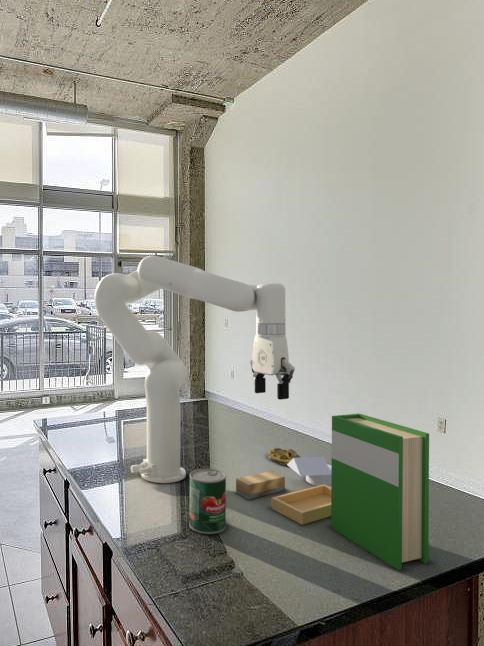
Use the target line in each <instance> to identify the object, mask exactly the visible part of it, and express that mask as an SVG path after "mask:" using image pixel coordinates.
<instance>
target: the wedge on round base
mask: <svg viewBox="0 0 484 646" xmlns="http://www.w3.org/2000/svg"><path fill="white" fill-rule="evenodd" d="M287 465H288V466H287V467H289V468H290V469H291V470H292V471H294V472H295V473H296V474H297V475H299V476H300V477H305V481H306V482H307V483H309V484H310V485H312V486H314V487H315V486H319V485H323V484H325V485H327V486H329V487H331V474H332V464H328V463H327V462H326V459H325V456H304V457H301V456H300V458H293V459H292V460H291V461H290V462H289V463H288V464H287Z"/></svg>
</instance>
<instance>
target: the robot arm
mask: <svg viewBox="0 0 484 646" xmlns="http://www.w3.org/2000/svg"><path fill="white" fill-rule="evenodd" d="M160 289H161V290H164V291H166V292H170V293H174V294H176V295H179V296H182V297H185V298H189V299H191V300H198V301H201V302H204V303H207V304H211V305H214V306H217V307H220V308H223V309H225V310H226V309H227V310H229V311H232V312H238V313H240V312H249V311H255V331H256V332H255V333H256V334H255V336H254V338H253V339H254V340H253V345H252V348H253V349H252V359H251V360H250V361H249V363H250V367H251V372H252V374H253V375H252V378H253V379H254V394H265V393H266V392H267V391H266V390H267V387H266V386H267V385H266V384H267V383H266V381H267V380H266V377H265V376H275V378H276V379H277V381H278V383H276V385H277V386H276V387H277V389H276V394H277V395H276V397H277V400H279V401H280V400H288V399H289V398H290V384H291V382H292V381H291V380H292V379H293V377H294V376H293V375H294V373H295V370H296V367H295V366H294V365H292V363H290V360H289V359H290V358H289V357H290V356H289V345H288V340H287V334H286V333H287V332H286V331H287V329H286V326H287V325H286V322H287V321H286V288H285V285H284V284H282V283H277V282H276V283H275V282H274V283H269V282H268V283H260V284H247V283H244V282H242V281H238V280H234V279H230V278H228V277H224V276H220V275H217V274H214V273H210V272H208V271H205V270H204V269H201V268H199V267H196V266H193V265H190V264H186V263H182V262H179V261H176V260H173V259H170V258H166V257H162V256H159V255H153V254H152V255H147V256H144V257H143V258H142V259H141V260H140V262H139V263H138V266H137V269H136V270H135V271H134V270H133V271H132V272H130V273H128V274H125V273H119V272H115V273H114V272H113V273H109V274H107V275H105V276H103V277H102V278H101V279H100V281H99V282H98V284H97V285H96V288H95V291H94V306H95V310H96V313H97V314H98V317H99V318H100V319H101V321H102V323H103V324H104V325H105V327H106V328H107V329H108V331H109V332H110V334H111V335H112V336H113V338H114V339H115V341H116V343H118V345H119V346H120V348H121V349H122V351H123V352H124V353H125V355H126V356H127V358H128V359H129V360H130V361H131V362H132V363H133V364H135V365H137V366H138V365H139V366H146V367H147V368H148V371H147V372H146V374H145V377H144V393H145V401H146V458H143V459H142V462H141V463H139V464H134V465H130V467H129V468H130V469H129V470H130V473H132V474H134V473H139V475H140V476H141V478H142V479H143V480H145V481H148V482H151V483H155V484H171V483H177V482H180V481H182V480H184V479H185V478H186V477H187V470H186V469H185V468H184V467H182V466H181V452H182V451H181V449H182V448H181V443H182V441H181V439H182V438H181V437H182V436H181V434H182V433H181V431H182V429H181V428H182V426H181V425H182V424H181V423H182V418H181V417H182V410H181V409H182V407H181V399H180V398H181V397H180V390H181V389H182V388H184V386H185V385H186V383H187V380H188V369H187V368H186V365H185V364H184V362H183V361H182V360H181V358H180V357H179V355H177V353H176V351H175V350H174V348H173V347H172V346H171V345H170V344H169V342H168V340H166V339H165V337H164V336H163V335H161V333H159V332H158V331H156V330H151V329H150V330H147V329H146V328H145V327H144V326H143V324H142V323H141V322H140V320H139V318H138V317H137V316H136V315H135V313H134V312H133V311H132V310H131V309H130V308H129V307H128V306H127V304H131V303H134V302H138V301H139V300H141V299H143V298H145V297H147V296H149V295H151V294H153V293H155V292H156V291H159V290H160Z"/></svg>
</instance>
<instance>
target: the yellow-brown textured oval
mask: <svg viewBox="0 0 484 646" xmlns="http://www.w3.org/2000/svg"><path fill="white" fill-rule="evenodd" d="M300 457H301V456H300V454H298V453H297V451H295V450H294V449H292V448H288V449H282V448H279V447H274V448H271V450H269V451H268V453H267V458H268V459H269V460H271V461H272V462H275V463H277V464H278V465H282V466H286V467H289V466H288V465H287V464H288V463H289V462H290V461H291V460H292V459H293V458H300Z"/></svg>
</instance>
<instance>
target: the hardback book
mask: <svg viewBox="0 0 484 646" xmlns="http://www.w3.org/2000/svg"><path fill="white" fill-rule="evenodd" d="M331 465H332V474H331V516H330V517H331V518H330V528H331V529H333V530H334V531H336V532H337V533H339V534H340V535H342V536H344V537H345V538H347V539H349V541H351V542H353V543H355V544H357V545H358V546H359V547H361V548H363V549H364V550H365V551H367V552H369V553H370V554H372V555H374V556H376V557H377V558H378V559H380V560H381V561H383V562H384V563H386V564H388V565H389V566H391V567H393V568H394V569H396V570H402V569H403V563H406V562H410V561H415V560H418V561H420V562H422V563H423V564H427V563H429V532H430V531H429V526H430V525H429V524H430V523H429V522H430V521H429V519H430V517H429V515H430V513H429V512H430V511H429V510H430V508H429V507H430V433H428V432H426V431H422V430H418V429H415V428H413V427H412V428H411V427H408V426H405V425H401V424H397V423H394V422H390V421H388V420H383V419H380V418H376V417H373V416H370V415H366V414H362V413H359V412H358V413H350V414H339V415H338V414H337V415H332V416H331Z"/></svg>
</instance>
